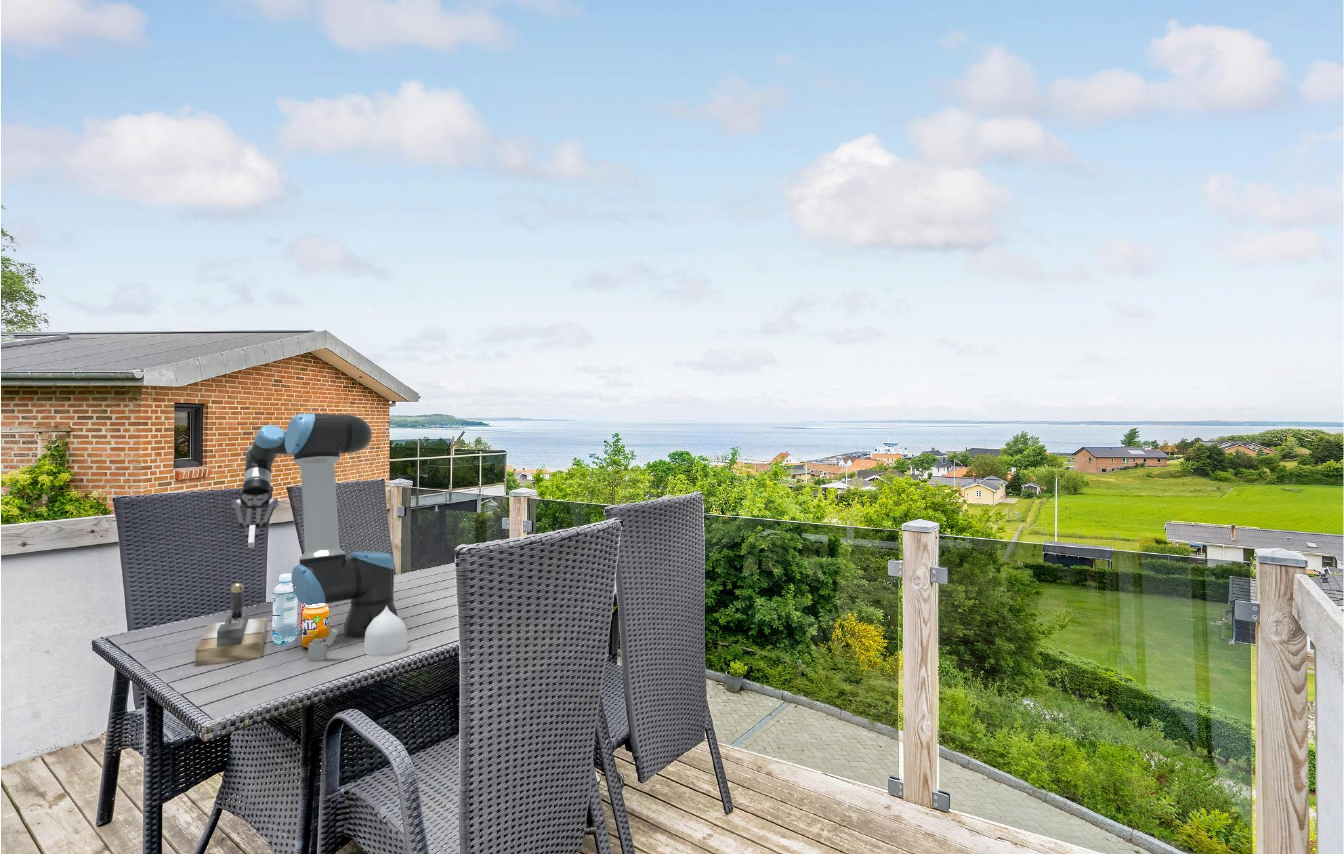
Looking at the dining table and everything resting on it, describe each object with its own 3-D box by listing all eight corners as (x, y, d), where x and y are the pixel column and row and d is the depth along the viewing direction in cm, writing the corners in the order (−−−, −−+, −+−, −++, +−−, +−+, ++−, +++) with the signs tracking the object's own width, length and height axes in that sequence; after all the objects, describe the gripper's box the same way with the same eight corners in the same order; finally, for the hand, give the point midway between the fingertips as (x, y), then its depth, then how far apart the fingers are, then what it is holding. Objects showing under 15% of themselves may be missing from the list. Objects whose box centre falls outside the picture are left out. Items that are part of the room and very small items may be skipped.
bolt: (243, 621, 189) (244, 580, 189) (239, 632, 178) (240, 590, 178) (231, 622, 187) (231, 581, 187) (226, 634, 177) (227, 591, 177)
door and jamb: (266, 631, 194) (267, 603, 194) (260, 657, 172) (261, 626, 172) (208, 637, 187) (209, 609, 187) (195, 665, 165) (195, 633, 165)
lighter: (307, 660, 170) (308, 629, 170) (311, 658, 172) (311, 627, 172) (335, 660, 170) (336, 629, 171) (338, 658, 172) (339, 627, 172)
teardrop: (379, 658, 172) (380, 612, 173) (354, 650, 178) (355, 606, 178) (416, 647, 182) (416, 603, 182) (391, 640, 188) (392, 598, 188)
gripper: (280, 491, 221) (276, 550, 206) (233, 492, 214) (226, 553, 200) (279, 477, 216) (275, 536, 201) (232, 477, 210) (224, 539, 195)
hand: (251, 545), depth 201 cm, fingers closed
